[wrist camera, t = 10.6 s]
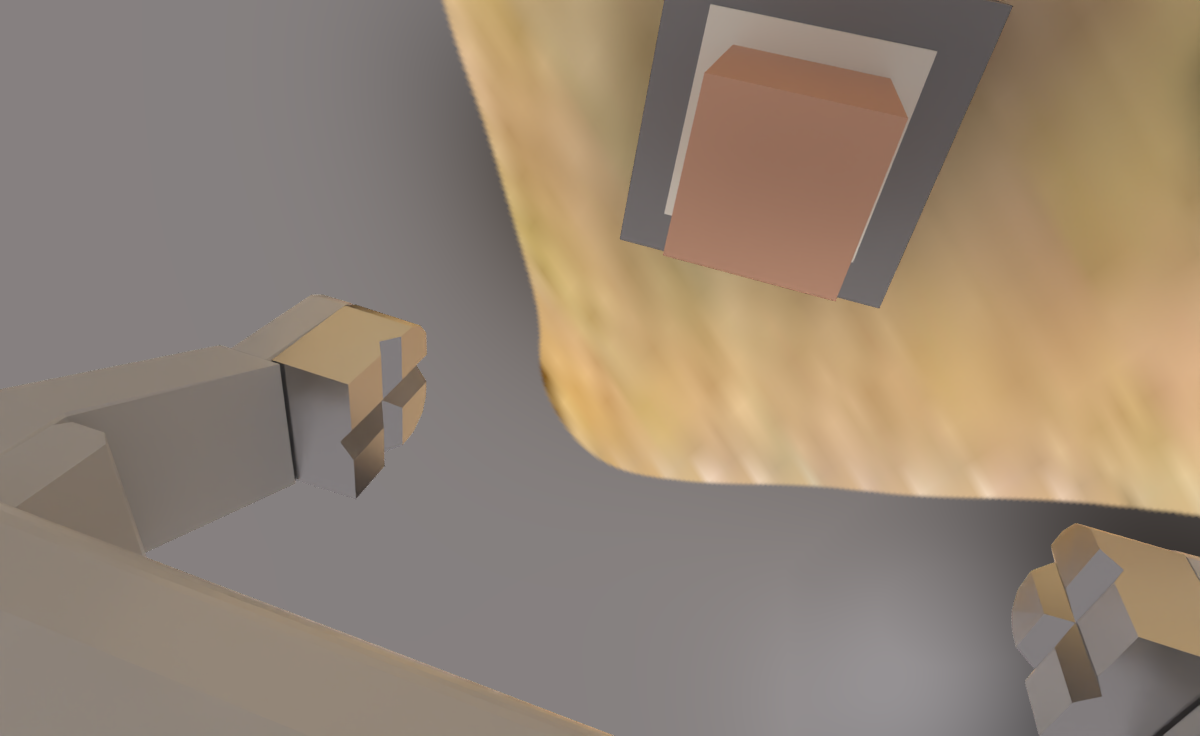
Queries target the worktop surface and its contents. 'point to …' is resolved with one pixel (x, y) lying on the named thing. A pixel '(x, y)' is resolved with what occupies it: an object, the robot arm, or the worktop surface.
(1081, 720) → the robot arm
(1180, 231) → the worktop surface
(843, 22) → the base
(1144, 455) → the worktop surface
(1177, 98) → the worktop surface
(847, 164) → the block
